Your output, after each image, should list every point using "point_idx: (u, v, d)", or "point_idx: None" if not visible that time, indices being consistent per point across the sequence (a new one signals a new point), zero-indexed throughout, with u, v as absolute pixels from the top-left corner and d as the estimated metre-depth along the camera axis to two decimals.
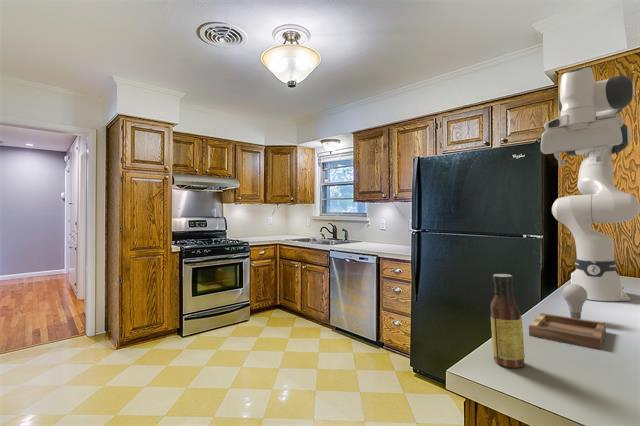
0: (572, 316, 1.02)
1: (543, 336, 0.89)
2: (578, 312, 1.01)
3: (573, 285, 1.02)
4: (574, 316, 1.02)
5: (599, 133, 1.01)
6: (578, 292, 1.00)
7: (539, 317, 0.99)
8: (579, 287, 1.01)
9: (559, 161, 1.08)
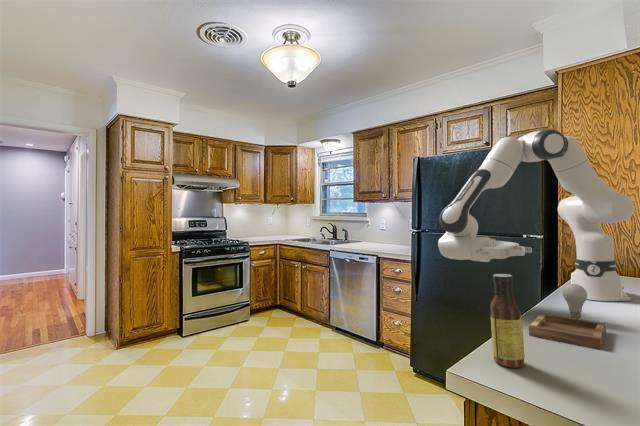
0: (572, 316, 1.02)
1: (543, 336, 0.89)
2: (578, 312, 1.01)
3: (573, 285, 1.02)
4: (574, 316, 1.02)
5: None
6: (578, 292, 1.00)
7: (539, 317, 0.99)
8: (579, 287, 1.01)
9: (526, 252, 1.16)
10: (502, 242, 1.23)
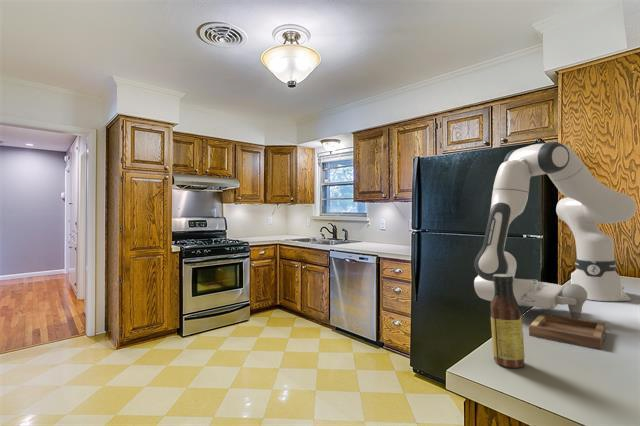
0: (572, 316, 1.02)
1: (543, 336, 0.89)
2: (578, 312, 1.01)
3: (573, 285, 1.02)
4: (574, 316, 1.02)
5: None
6: (578, 292, 1.00)
7: (539, 317, 0.99)
8: (579, 287, 1.01)
9: None
10: (545, 284, 1.15)
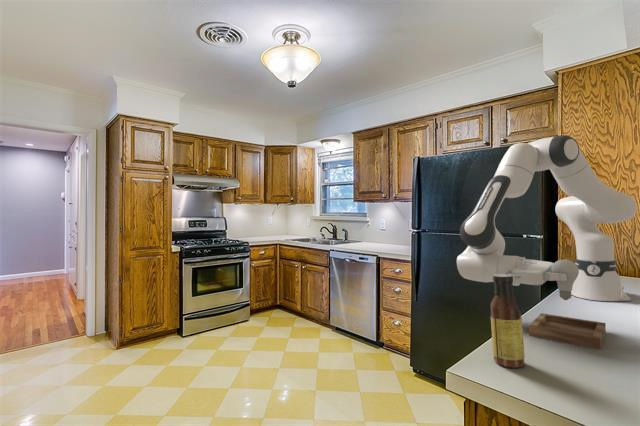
0: (561, 295, 0.92)
1: (543, 336, 0.89)
2: (569, 291, 0.91)
3: (563, 260, 0.92)
4: (564, 295, 0.91)
5: None
6: (568, 266, 0.90)
7: (539, 317, 0.99)
8: (570, 262, 0.91)
9: None
10: (533, 261, 1.04)
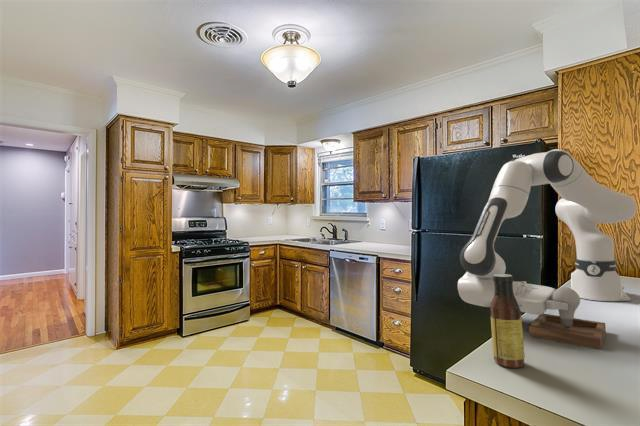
0: (563, 323, 0.91)
1: (543, 336, 0.89)
2: (570, 319, 0.91)
3: (565, 288, 0.92)
4: (565, 323, 0.91)
5: None
6: (569, 295, 0.90)
7: (539, 317, 0.99)
8: (571, 291, 0.91)
9: None
10: (535, 286, 1.04)
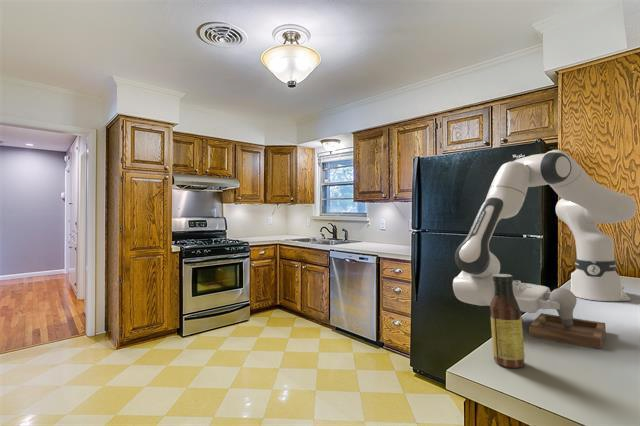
0: (563, 324, 0.93)
1: (543, 336, 0.89)
2: (570, 319, 0.92)
3: (560, 290, 0.93)
4: (565, 324, 0.93)
5: None
6: (565, 297, 0.91)
7: (539, 317, 0.99)
8: (566, 292, 0.92)
9: None
10: (529, 285, 1.05)
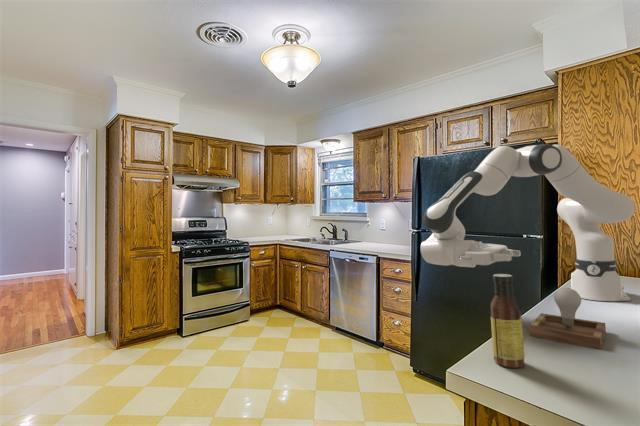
0: (564, 323, 0.93)
1: (543, 336, 0.89)
2: (571, 319, 0.92)
3: (566, 289, 0.93)
4: (566, 323, 0.93)
5: None
6: (571, 296, 0.91)
7: (539, 317, 0.99)
8: (572, 291, 0.92)
9: None
10: (489, 245, 1.13)
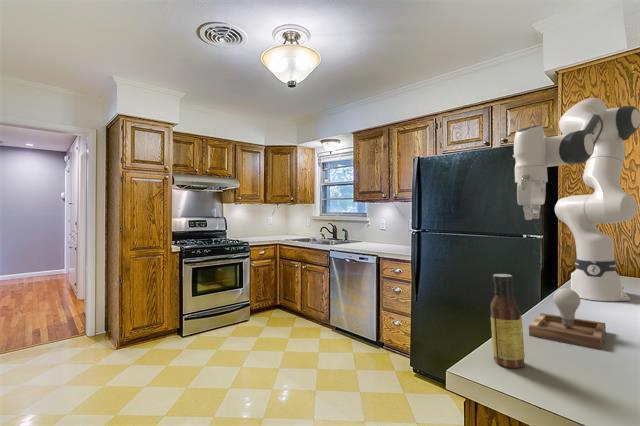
0: (564, 324, 0.93)
1: (543, 336, 0.89)
2: (571, 320, 0.92)
3: (565, 290, 0.93)
4: (566, 324, 0.93)
5: None
6: (570, 297, 0.91)
7: (539, 317, 0.99)
8: (571, 292, 0.92)
9: None
10: (543, 189, 1.13)
